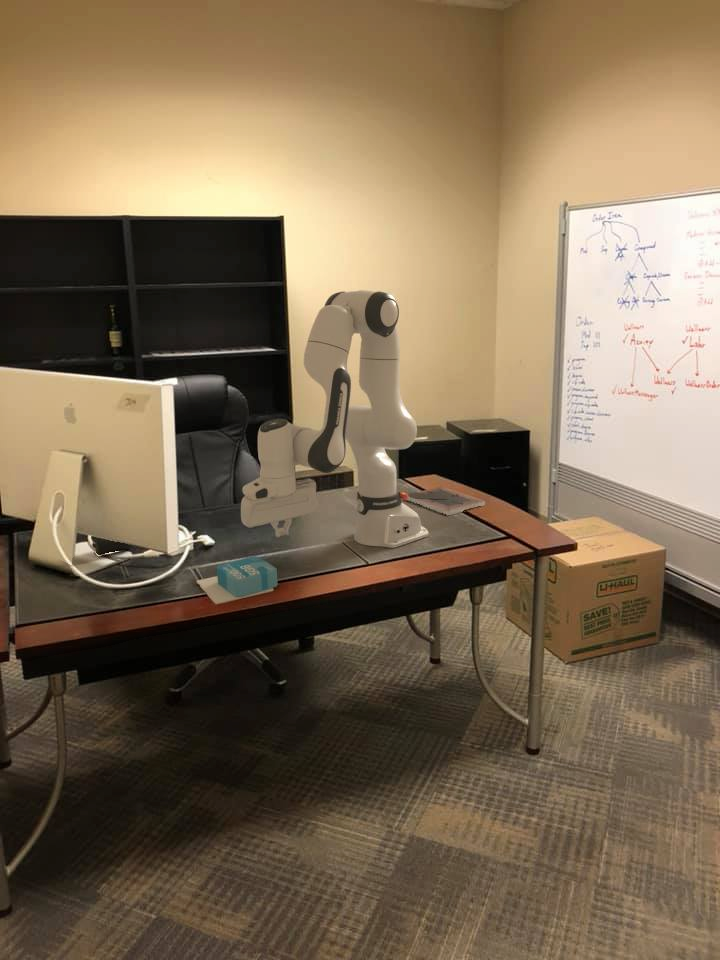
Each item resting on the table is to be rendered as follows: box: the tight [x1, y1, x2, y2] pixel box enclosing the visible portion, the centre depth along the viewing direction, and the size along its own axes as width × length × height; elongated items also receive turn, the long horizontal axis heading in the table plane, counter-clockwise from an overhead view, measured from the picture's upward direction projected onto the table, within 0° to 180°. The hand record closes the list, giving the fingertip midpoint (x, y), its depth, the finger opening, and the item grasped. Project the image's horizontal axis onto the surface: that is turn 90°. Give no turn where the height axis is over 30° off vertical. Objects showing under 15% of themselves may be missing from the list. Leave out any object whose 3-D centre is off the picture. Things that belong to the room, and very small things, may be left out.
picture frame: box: [406, 485, 486, 516], centre depth 251 cm, size 16×2×22 cm
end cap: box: [90, 536, 134, 555], centre depth 211 cm, size 10×7×7 cm
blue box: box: [216, 556, 279, 597], centre depth 187 cm, size 12×4×12 cm
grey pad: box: [196, 575, 275, 605], centre depth 188 cm, size 15×15×1 cm
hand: (282, 535), depth 191 cm, fingers closed
